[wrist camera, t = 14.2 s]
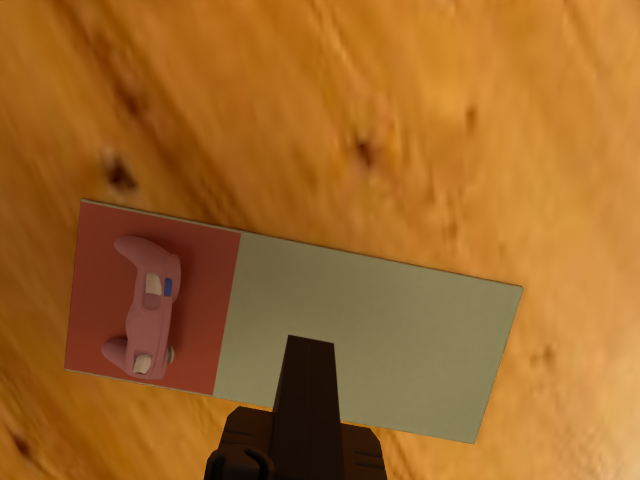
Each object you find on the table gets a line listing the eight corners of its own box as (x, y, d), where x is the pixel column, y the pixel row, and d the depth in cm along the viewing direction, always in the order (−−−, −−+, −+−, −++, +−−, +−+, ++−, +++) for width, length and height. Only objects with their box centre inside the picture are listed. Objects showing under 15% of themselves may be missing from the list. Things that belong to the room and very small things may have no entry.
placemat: (66, 367, 40) (63, 370, 40) (83, 198, 37) (81, 199, 37) (473, 441, 42) (474, 444, 42) (521, 286, 39) (524, 287, 39)
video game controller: (159, 348, 41) (176, 396, 35) (98, 350, 39) (106, 401, 33) (176, 233, 39) (198, 263, 33) (113, 228, 37) (124, 259, 31)
